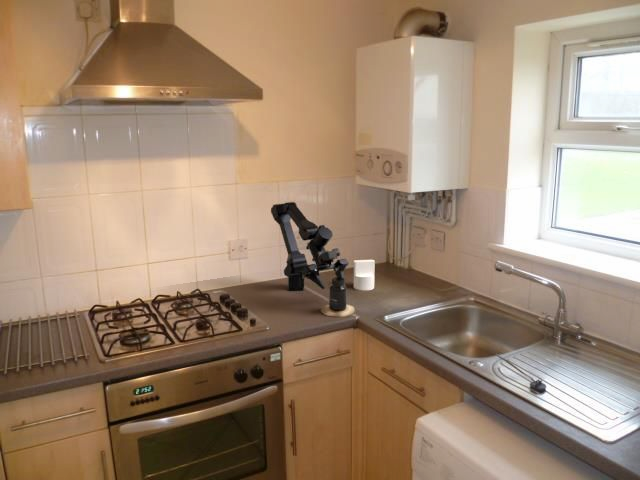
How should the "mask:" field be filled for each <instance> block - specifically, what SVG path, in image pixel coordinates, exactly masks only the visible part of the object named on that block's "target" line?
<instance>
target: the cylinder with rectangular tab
mask: <svg viewBox="0 0 640 480" xmlns="http://www.w3.org/2000/svg"><path fill="white" fill-rule="evenodd" d="M375 264H376V261H375V260H374V259H359V260H358V259H356V260H355V259H354V260H353V289H354V290H357V291H371V290H373V289H375Z"/></svg>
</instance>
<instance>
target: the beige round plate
mask: <svg viewBox="0 0 640 480" xmlns="http://www.w3.org/2000/svg"><path fill="white" fill-rule="evenodd" d="M355 311H356V309H355V307H354V306H353V305H350V304H347V306H346V309H345V310H344V311H332V310H330V309H329V303H328V304H326V305H323V306H322V307H321V308H320V312H321V314H322V313H323V314H322V315H324V316H327V317H331V318H346V317H350V316H352V315H354V314H355Z"/></svg>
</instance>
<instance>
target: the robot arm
mask: <svg viewBox="0 0 640 480" xmlns="http://www.w3.org/2000/svg"><path fill="white" fill-rule="evenodd" d="M297 205H298V204H297V203H296V202H295V201H287V202H285V203H277V204H272V207H271V209H270V213H271V215H272V218H273V220H274V221H275V222H276V223H277V224H278V225H279V228H280V231H281V232H280V233H281V235H282V238H283V241H284V245H285V249H286V252H287V258H286V266H285V267H284V269H283V275H284V276H285V277H287V289H288V291H289V292H292V291H293V292H296V291H304V288H305V278H307V280H310V281H311V282H313V283H315V285H317V286H318V287H320V288H321V289H322V290H325V285H324V283H323V280H322V278H321V276H320V272H323V271H328V270H333V271H334V275H335V276H336V277H340V278H344V279H345V275H344V273H345V269H346V268H347V266H349V261H348V260H347V259H346V258H340V259H338V257H340V256H341V252H340V250H339V248H338V247H336V248H333V249H332V250H326V249H325V247H326V246H327V245H328V243H329V242H330V240H331V239H332V238H333V235H334V234H333V231H332V230H331V229H330V228H328V227H326V225H325V224H322V225H321V224H320V225H319V226H318V225H317V224H316V223H314V222H312V221H310V220H309V219H307V217H306V216H305V215H304V214H303V213H302V211H301V210H300V209H299V207H298V206H297ZM291 220H292V221H293V223H294V224H295V225H296V227H297V228H298V234H299V236H300V238H301V240H303V241H309V242H307V245H306V247H305V249H306V250H309V252H310V254H311V256H312V259H311V260H312V262H314V263H312V264H308V261H307V259H306V255H305V253H302V252H300V250H299V247H298V243H297V240H296V237H295V234H294V231H293V230H294V229H293V227H292V224H291ZM335 259H337V260H336V261H335ZM334 261H335V262H334ZM333 262H334V263H333Z"/></svg>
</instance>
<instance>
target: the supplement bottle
mask: <svg viewBox="0 0 640 480" xmlns="http://www.w3.org/2000/svg"><path fill="white" fill-rule="evenodd" d="M345 282H346V281H345V277H344V278H340V277H337V276H336V277H333V278H331V285H329V289H328V304H329V309H330V310H332V311H344V310H345V309H346V306H347V305H348V302H347V301H348V297H347V296H348V288H347V286H346V285H345Z"/></svg>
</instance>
